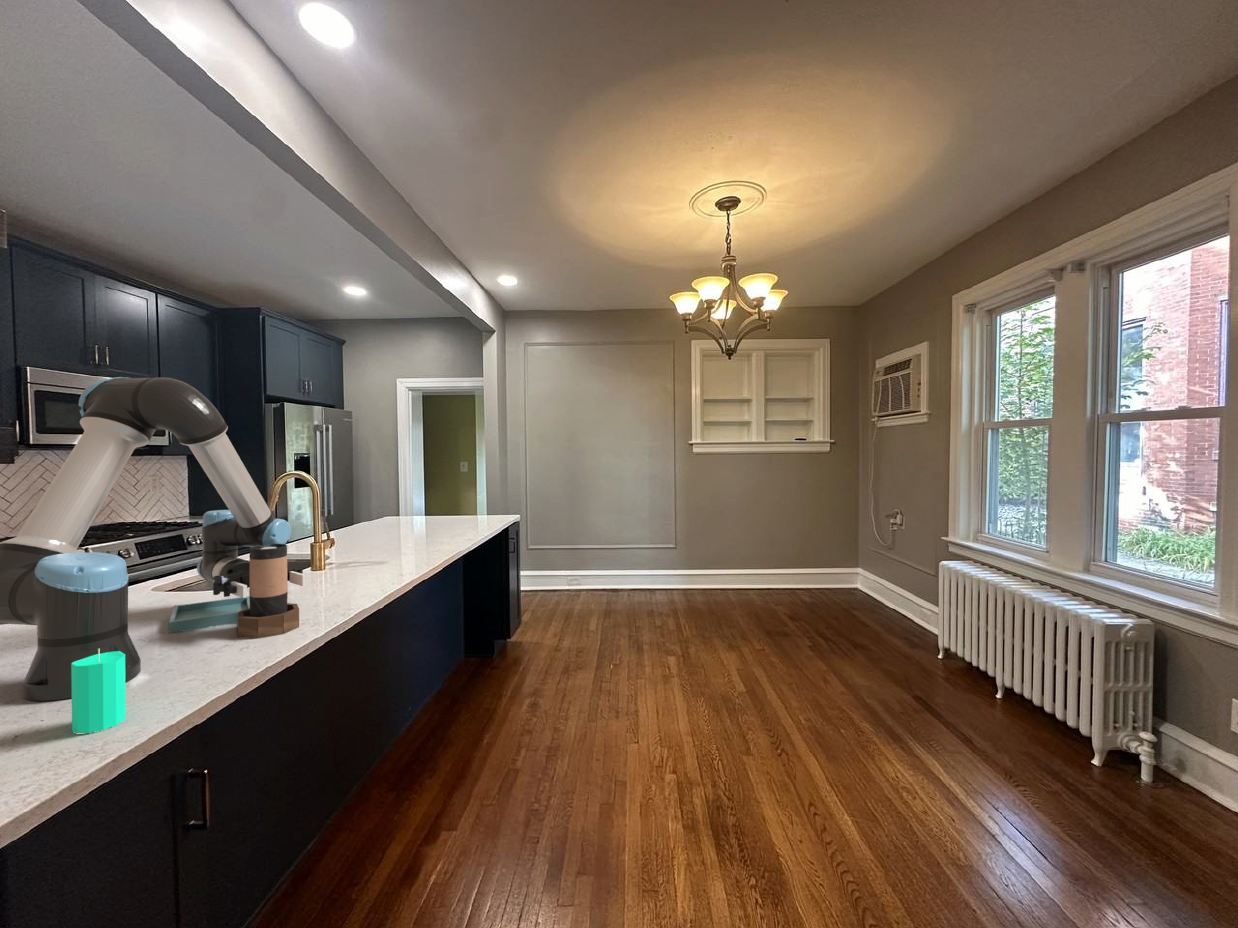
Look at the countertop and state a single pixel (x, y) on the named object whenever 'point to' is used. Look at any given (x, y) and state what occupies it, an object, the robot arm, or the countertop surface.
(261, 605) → the travel mug
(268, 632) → the walnut collar
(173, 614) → the slate tray
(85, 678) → the candle
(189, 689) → the countertop surface
